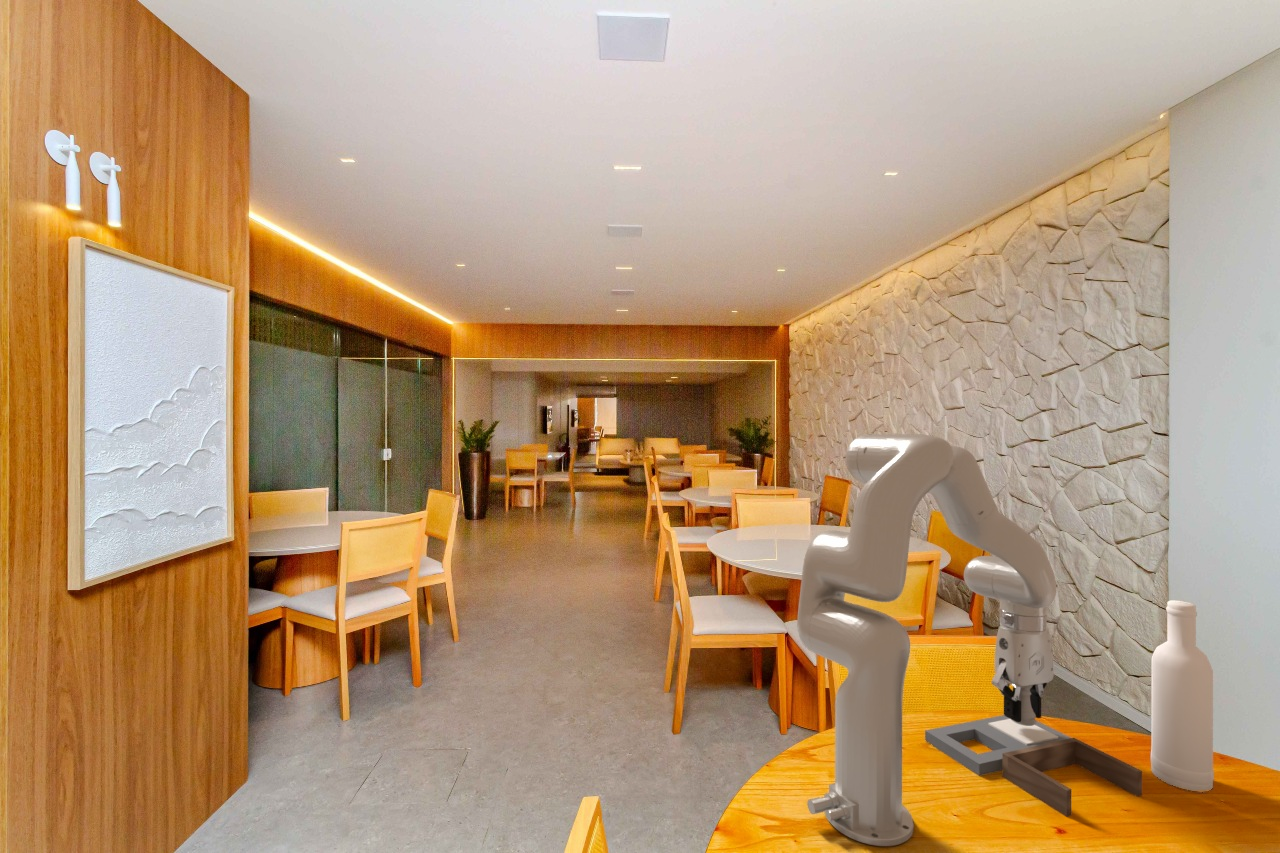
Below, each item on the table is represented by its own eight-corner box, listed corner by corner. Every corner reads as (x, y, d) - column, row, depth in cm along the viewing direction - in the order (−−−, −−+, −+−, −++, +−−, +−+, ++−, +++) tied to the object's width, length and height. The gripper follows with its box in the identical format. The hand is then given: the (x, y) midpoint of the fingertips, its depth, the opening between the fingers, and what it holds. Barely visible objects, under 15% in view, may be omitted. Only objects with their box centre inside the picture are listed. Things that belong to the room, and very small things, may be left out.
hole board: (979, 775, 102) (979, 762, 102) (925, 740, 113) (925, 728, 113) (1079, 752, 110) (1079, 739, 110) (1018, 721, 121) (1019, 710, 121)
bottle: (1204, 774, 103) (1204, 600, 103) (1221, 798, 96) (1221, 612, 96) (1144, 761, 107) (1144, 594, 107) (1157, 784, 100) (1157, 605, 100)
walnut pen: (1066, 816, 91) (1066, 790, 91) (1002, 776, 102) (1002, 753, 102) (1141, 795, 97) (1142, 770, 97) (1073, 759, 107) (1073, 737, 107)
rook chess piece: (1041, 728, 111) (1041, 684, 111) (1014, 725, 112) (1014, 682, 112) (1030, 716, 115) (1030, 675, 115) (1004, 714, 116) (1004, 673, 116)
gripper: (1007, 631, 107) (1006, 733, 107) (1074, 622, 113) (1073, 719, 112) (971, 618, 114) (971, 714, 114) (1036, 611, 120) (1036, 702, 120)
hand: (1022, 715), depth 113 cm, fingers closed on rook chess piece, 4 cm apart
